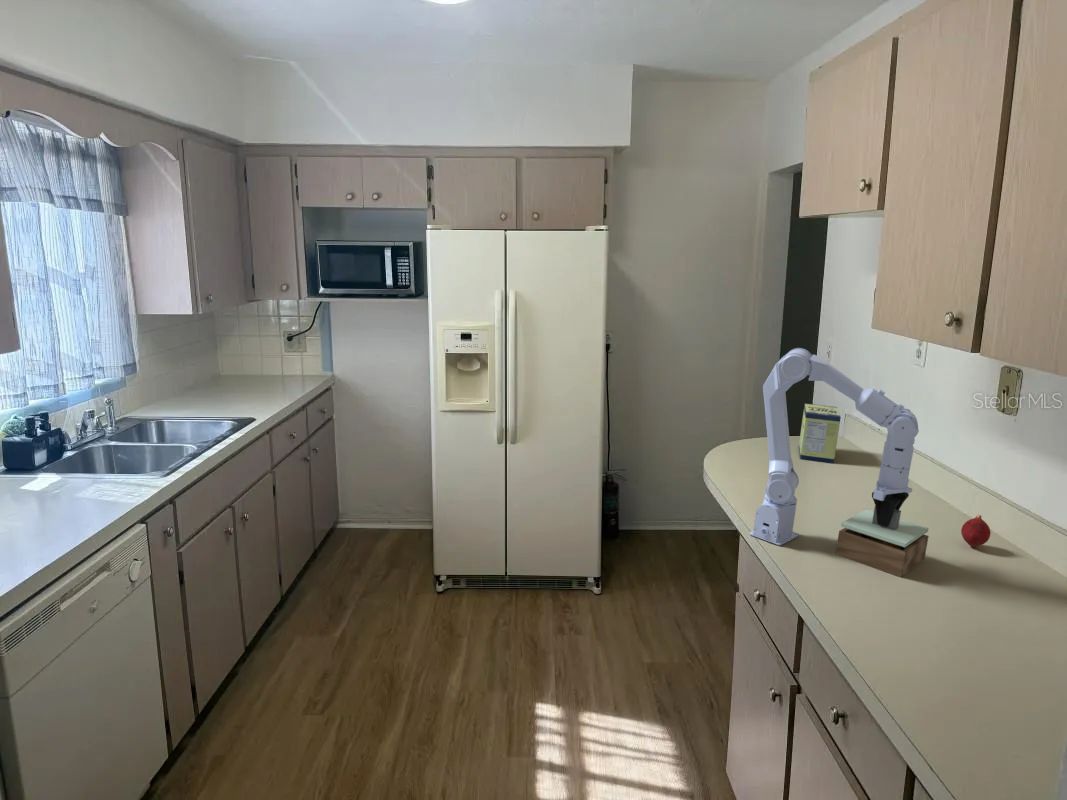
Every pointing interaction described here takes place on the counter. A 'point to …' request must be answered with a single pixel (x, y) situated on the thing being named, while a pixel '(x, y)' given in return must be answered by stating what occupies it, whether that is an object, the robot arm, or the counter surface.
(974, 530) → the onion
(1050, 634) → the counter surface
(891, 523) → the lid
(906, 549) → the box
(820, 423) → the protein box
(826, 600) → the counter surface
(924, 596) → the counter surface
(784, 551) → the counter surface
